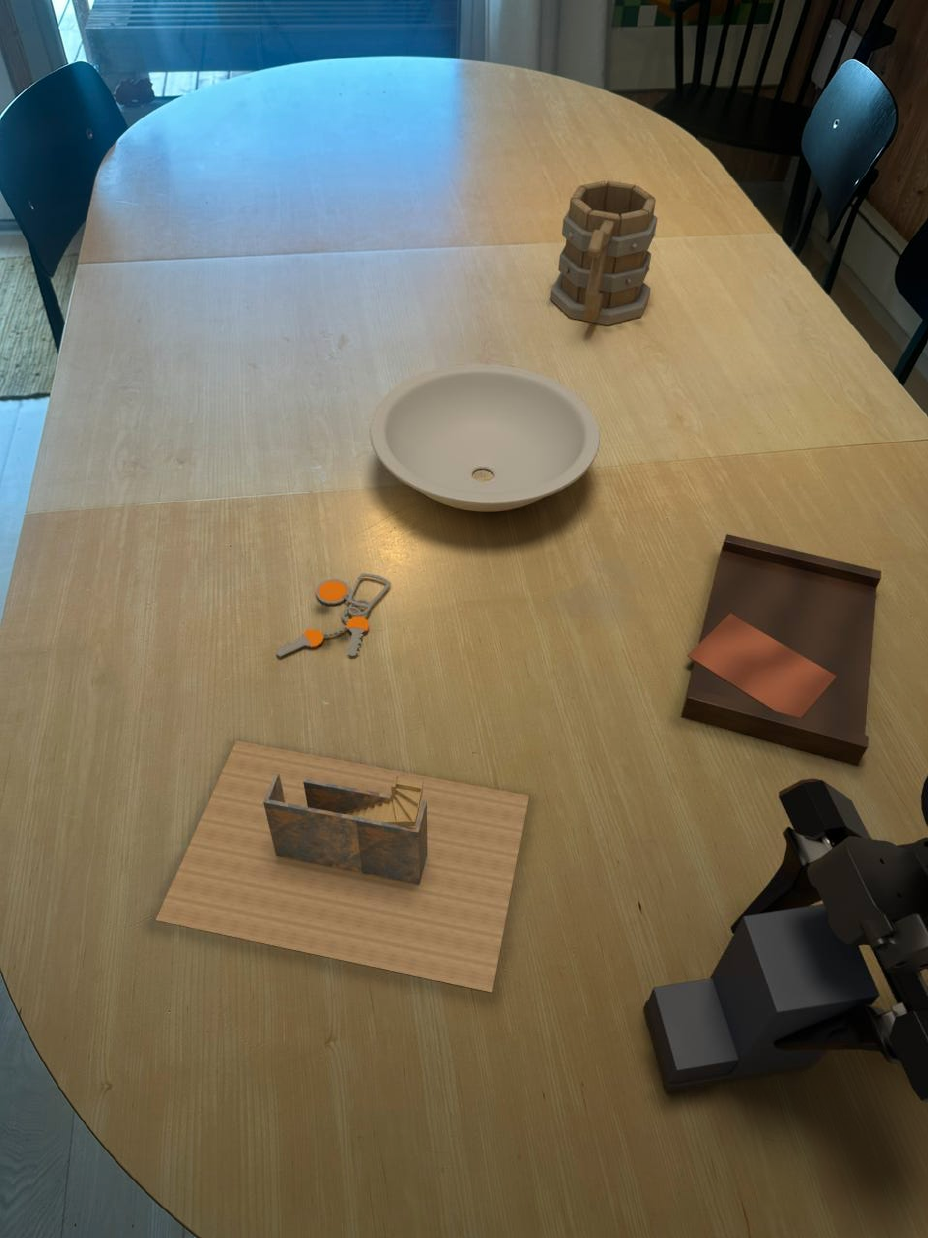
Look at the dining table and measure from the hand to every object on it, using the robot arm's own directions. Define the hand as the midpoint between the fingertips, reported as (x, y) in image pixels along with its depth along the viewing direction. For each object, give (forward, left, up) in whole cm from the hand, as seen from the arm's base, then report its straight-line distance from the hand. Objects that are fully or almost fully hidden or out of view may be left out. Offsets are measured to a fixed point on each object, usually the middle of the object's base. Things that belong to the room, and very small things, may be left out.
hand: (754, 986), depth 60 cm
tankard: (+31, -89, -8) cm, 94 cm away
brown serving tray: (0, -37, -8) cm, 38 cm away
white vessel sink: (+34, -51, -8) cm, 62 cm away
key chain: (+40, -26, -8) cm, 49 cm away
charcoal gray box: (0, 0, -8) cm, 8 cm away
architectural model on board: (+29, -4, -8) cm, 31 cm away
